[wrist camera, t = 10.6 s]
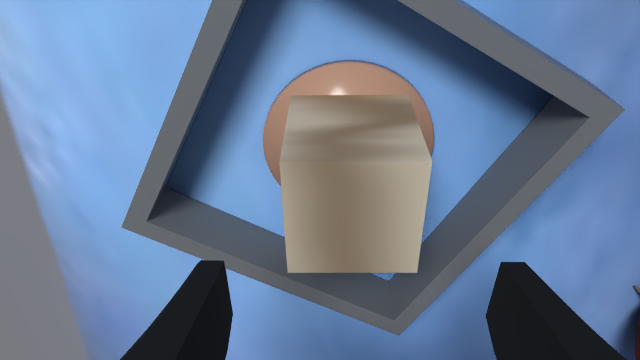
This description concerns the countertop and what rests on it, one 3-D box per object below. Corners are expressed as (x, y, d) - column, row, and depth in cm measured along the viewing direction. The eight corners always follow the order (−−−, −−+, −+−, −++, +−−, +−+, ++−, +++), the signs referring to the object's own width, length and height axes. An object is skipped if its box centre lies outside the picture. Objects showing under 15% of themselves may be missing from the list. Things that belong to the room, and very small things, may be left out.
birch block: (407, 94, 18) (432, 161, 14) (398, 190, 20) (417, 272, 16) (290, 95, 18) (279, 162, 14) (295, 191, 20) (287, 272, 16)
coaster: (467, 112, 18) (469, 116, 18) (373, 230, 22) (374, 235, 22) (313, 26, 17) (313, 29, 16) (237, 168, 20) (236, 173, 20)
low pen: (590, 81, 18) (625, 109, 16) (392, 296, 24) (398, 335, 22) (270, -122, 14) (261, -122, 12) (142, 192, 21) (121, 227, 19)
